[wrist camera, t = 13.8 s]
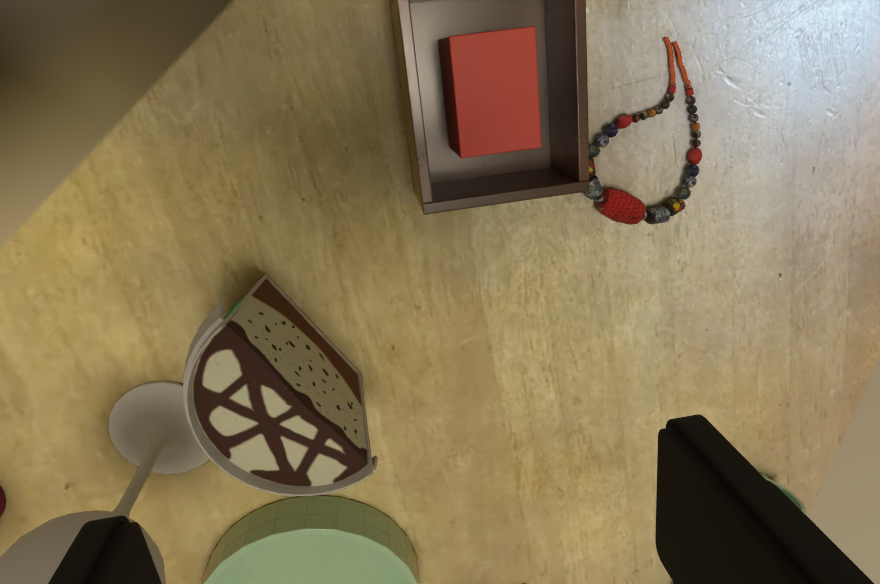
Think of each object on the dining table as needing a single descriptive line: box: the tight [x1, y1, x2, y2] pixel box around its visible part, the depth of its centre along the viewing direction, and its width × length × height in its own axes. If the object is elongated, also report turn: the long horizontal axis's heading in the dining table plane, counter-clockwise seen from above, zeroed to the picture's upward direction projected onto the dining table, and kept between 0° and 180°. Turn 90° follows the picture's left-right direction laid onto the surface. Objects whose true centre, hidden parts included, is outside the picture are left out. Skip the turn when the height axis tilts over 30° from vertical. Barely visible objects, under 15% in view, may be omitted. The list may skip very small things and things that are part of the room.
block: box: [438, 26, 541, 158], centre depth 33 cm, size 6×4×4 cm
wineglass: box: [0, 381, 210, 584], centre depth 31 cm, size 8×8×21 cm
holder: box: [389, 0, 590, 214], centre depth 33 cm, size 11×9×6 cm
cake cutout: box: [183, 273, 378, 496], centre depth 35 cm, size 12×6×10 cm, turn 37°
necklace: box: [585, 37, 702, 224], centre depth 37 cm, size 8×11×2 cm
